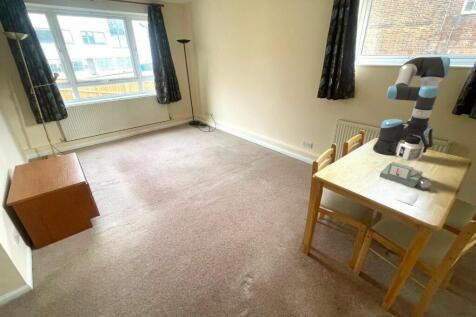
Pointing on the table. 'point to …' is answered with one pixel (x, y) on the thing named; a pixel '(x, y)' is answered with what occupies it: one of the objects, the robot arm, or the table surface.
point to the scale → (401, 174)
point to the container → (410, 148)
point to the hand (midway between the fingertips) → (408, 154)
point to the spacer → (424, 184)
